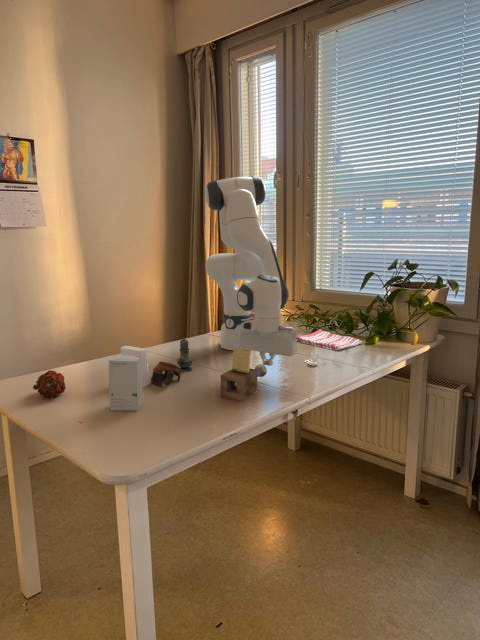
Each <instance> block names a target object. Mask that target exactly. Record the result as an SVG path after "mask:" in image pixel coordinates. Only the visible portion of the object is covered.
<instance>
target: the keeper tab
mask: <svg viewBox="0 0 480 640" xmlns="http://www.w3.org/2000/svg"><path fill="white" fill-rule="evenodd" d="M232 353H233V355H232V366H231V367H232V368H231V369H232V371H235V372H241V373H246V374H249V369H250V368H251V355H252V354H251V353H252V350H240V349H234V350H233V352H232Z"/></svg>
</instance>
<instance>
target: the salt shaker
mask: <svg viewBox="0 0 480 640" xmlns="http://www.w3.org/2000/svg"><path fill="white" fill-rule="evenodd" d="M182 338H183V339H181V340H180V341H179V342H180V343H179V347H180V348H179V349H178V351H179V353H180V354H179V355H180V356H179V357H178V358H177V359H176V362H177V363H176V364H177V366H178V367H179V368H180V370H179V372H182V373H183V372H184V373H185V372H186V373H187V372H191V371H193V368H192V367H191V365H192V364H193V361H194V359H193V358H192V357H190V348H189V341H188V339H186V337H185V336H184V337H182Z"/></svg>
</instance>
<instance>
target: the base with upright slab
mask: <svg viewBox="0 0 480 640" xmlns="http://www.w3.org/2000/svg"><path fill="white" fill-rule="evenodd" d="M147 352H148V351H147V348H143V347H137V346H131V345H124V346H121V347H120V355H130V356H141V373H142V388H144V387H146V386H148V385H149V384H150V371H149V369H150V368H149V364H148V355H147V354H148V353H147Z"/></svg>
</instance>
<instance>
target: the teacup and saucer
mask: <svg viewBox="0 0 480 640" xmlns="http://www.w3.org/2000/svg"><path fill="white" fill-rule="evenodd" d="M309 360H311V361H309ZM319 360H320V353H319V352H316V351H315V352H314V351H313V352H311V353H310V359H307V360H304V362H306V361H308V362H307V363H308V364H309V365H308V366H310V365H312V367H318V366H317V365H319V362H320V361H319Z"/></svg>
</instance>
